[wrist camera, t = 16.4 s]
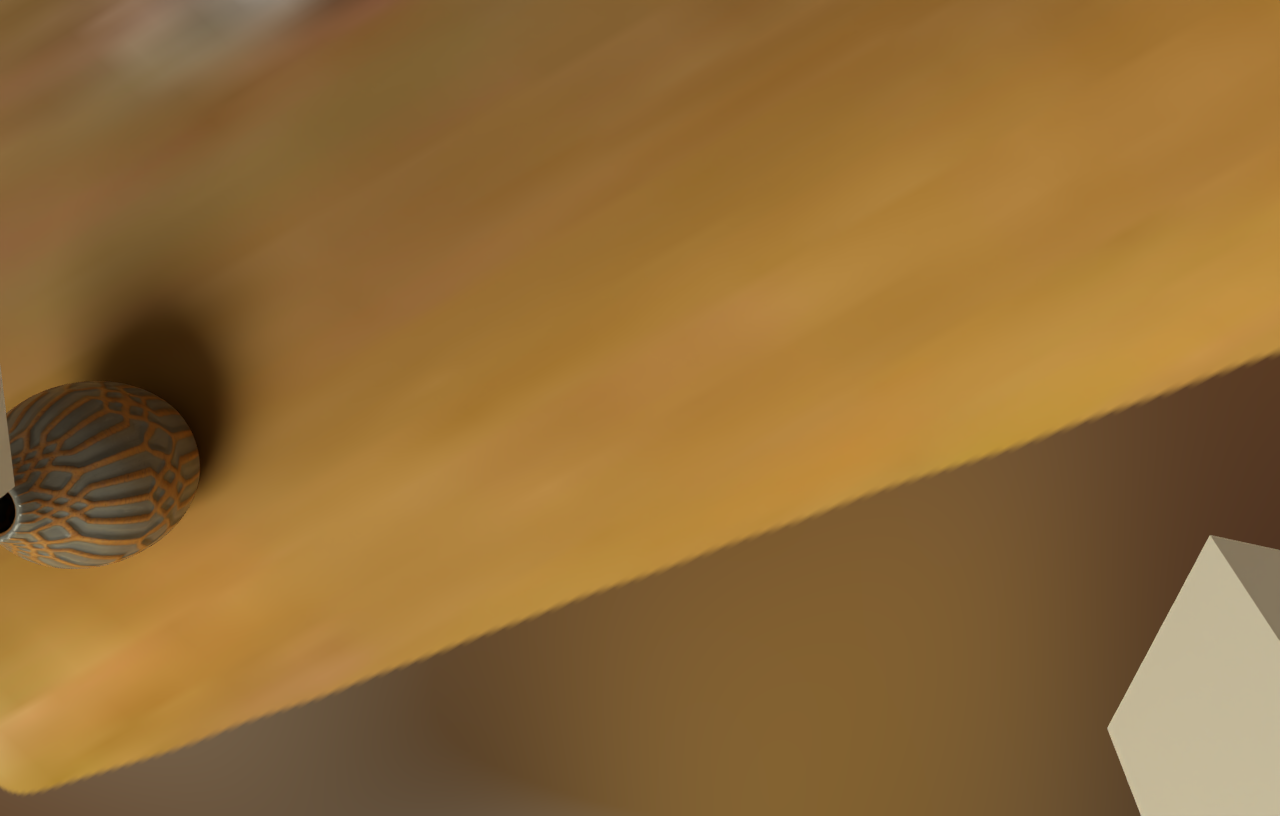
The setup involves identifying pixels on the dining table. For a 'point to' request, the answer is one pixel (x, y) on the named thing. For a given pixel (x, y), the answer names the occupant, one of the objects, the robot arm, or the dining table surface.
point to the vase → (95, 474)
